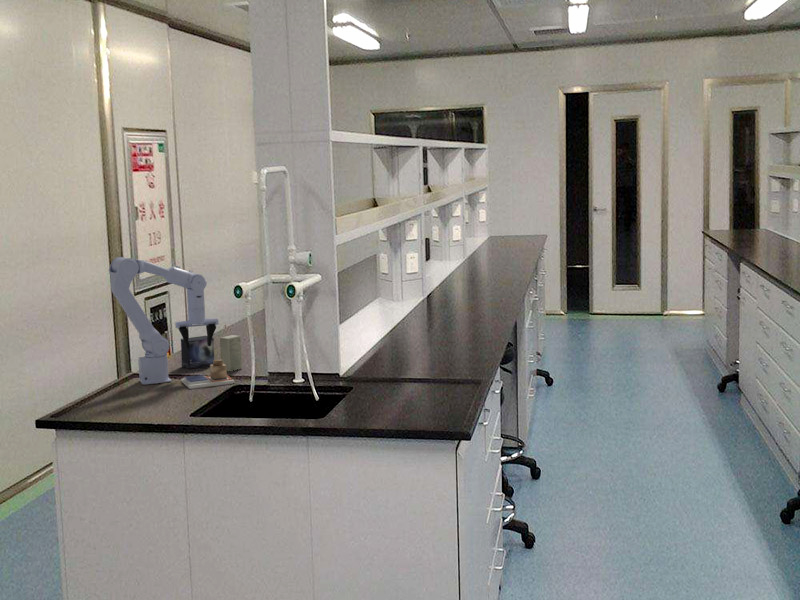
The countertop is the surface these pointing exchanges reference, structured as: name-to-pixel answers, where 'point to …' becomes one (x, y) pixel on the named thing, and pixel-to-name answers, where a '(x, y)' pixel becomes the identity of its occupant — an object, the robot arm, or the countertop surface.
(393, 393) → the countertop surface
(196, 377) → the board
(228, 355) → the skincare box
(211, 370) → the stamp
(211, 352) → the small box
